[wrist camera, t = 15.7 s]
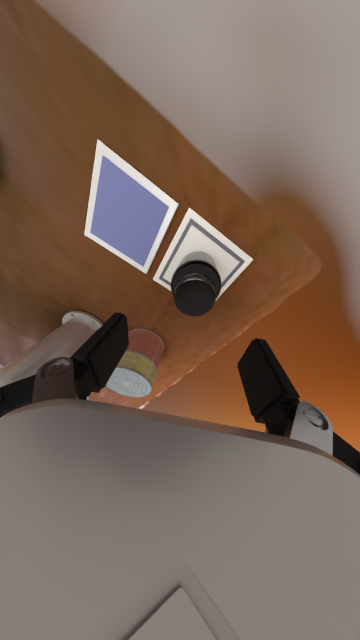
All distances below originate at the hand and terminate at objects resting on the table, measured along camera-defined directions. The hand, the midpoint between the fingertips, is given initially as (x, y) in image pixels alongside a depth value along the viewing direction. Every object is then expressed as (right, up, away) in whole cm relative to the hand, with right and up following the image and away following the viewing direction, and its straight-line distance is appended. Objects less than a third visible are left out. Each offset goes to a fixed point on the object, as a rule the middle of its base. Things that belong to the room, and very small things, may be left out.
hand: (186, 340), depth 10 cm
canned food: (-10, -5, +29) cm, 31 cm away
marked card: (+3, +11, +15) cm, 19 cm away
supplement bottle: (+3, +11, +15) cm, 19 cm away
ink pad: (-9, +18, +12) cm, 23 cm away
